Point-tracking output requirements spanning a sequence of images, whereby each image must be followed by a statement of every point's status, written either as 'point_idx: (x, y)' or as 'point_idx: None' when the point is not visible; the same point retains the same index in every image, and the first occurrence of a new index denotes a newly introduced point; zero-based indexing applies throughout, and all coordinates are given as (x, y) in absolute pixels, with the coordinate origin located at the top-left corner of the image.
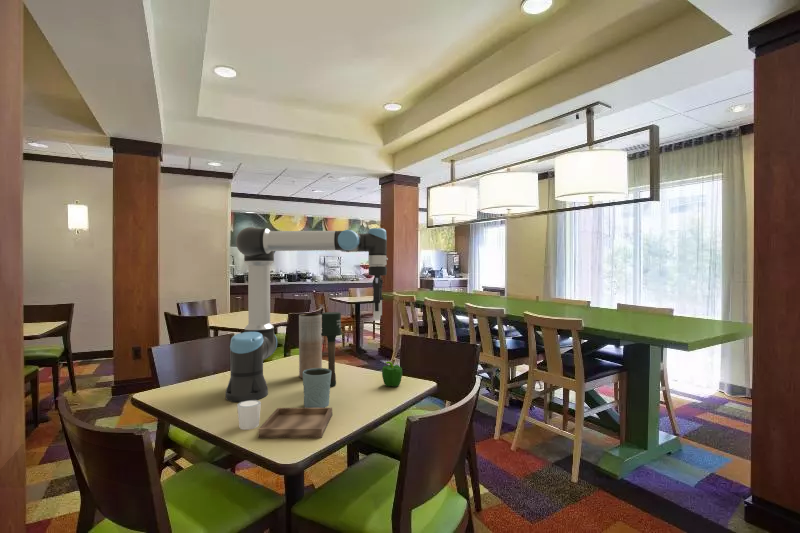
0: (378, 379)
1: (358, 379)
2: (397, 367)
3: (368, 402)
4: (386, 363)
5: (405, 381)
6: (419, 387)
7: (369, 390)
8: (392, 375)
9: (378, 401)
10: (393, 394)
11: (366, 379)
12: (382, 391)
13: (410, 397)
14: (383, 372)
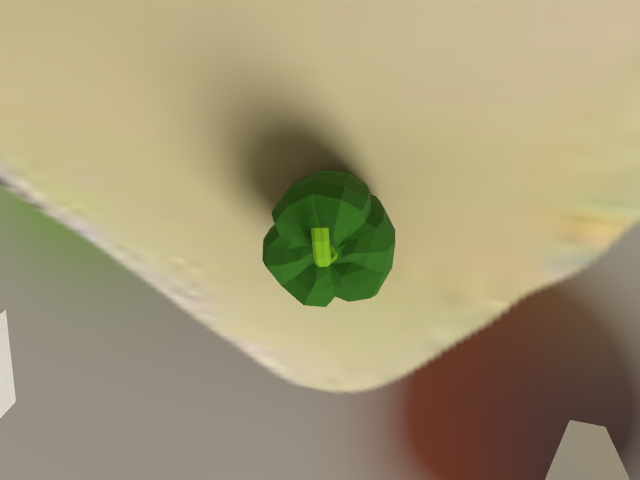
0: (492, 149)
1: (532, 10)
2: (303, 284)
3: (53, 48)
4: (312, 228)
5: (407, 291)
6: (283, 330)
7: (261, 70)
8: (269, 230)
9: (70, 102)
10: (179, 191)
11: (515, 69)
12: (234, 142)
13: (131, 258)
14: (298, 185)
